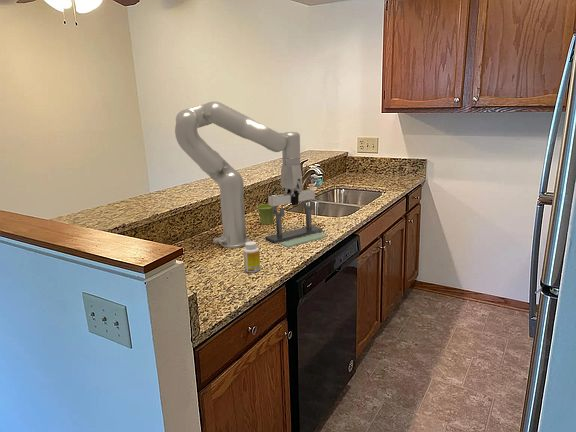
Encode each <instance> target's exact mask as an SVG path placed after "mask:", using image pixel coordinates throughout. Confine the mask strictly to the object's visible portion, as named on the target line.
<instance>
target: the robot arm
mask: <svg viewBox="0 0 576 432" xmlns="http://www.w3.org/2000/svg"><path fill="white" fill-rule="evenodd" d="M212 124H213V125H216V126H217V127H219V128H221V129H224V130H225V131H228V132H230V133H232V134H234V135H236V136H238V137H240V138H242V139H246V140H248V141H251V142H252V143H253V142H254V143H256V144H258V145H260V146H262V147H264V148H266V150H269V151H271V152H274V153H280V152H281V154H282V164H281V167H280V186H281V187H282V189H283V190H284V194H286V193H292V195H293V196H292V203H291V206H293V207H294V206H297V205H300V204H299V203H300V202H299V199H298V196H299V194H300V192H302V191H304V190H303V188H302V187H303V173H302V167H301V135H300V133H299V132H297V131H286V132H278V131H276V130H273V129H272V128H270V127H268V126H266V125H264V124H262V123H260V122H258V121H256V120H255V119H254V118H251V117H249V116H247V115H245V114H243V113H241V112H239V111H237V110H235V108H234V109H233V108H232V107H229V106H228V105H225V104H224V103H222V102H219V101H217V100H216V101H215V100H214V101H210V102H207V103H203V104H200V105H197V106H192V107H190V108H186V109H181V110H180V111H179V112H178V113H177V114H176V117H175V127H174V128H175V129H174V133H175V139H176V141H177V144H178V145H179V147H180V148H181V149H182V151H184V152H185V154H186V155H187V156H188V157H189V158H190V159H191V160H192V161H193V162H195V164H197V165H198V167H199V169H201V171H203V172H204V173H205V174H206V175H207V176H209V177H210V178H211V179H212V180H213V182H215V183H216V185H218V186H219V191H220V192H219V194H220V211H221V212H220V213H221V222H222V232H223V233H221V234H220V236H219V237H215V238H213V239H212V242H213V244H216V243H219V244H220V246H221V247H224V248H228V249H237V248H243V247H245V243H246V242H250V241H251V239H250V238H249V237H247V231H246V230H247V229H246V217H245V216H246V214H245V199H244V197H245V196H244V192H245V191H244V189H245V188H244V180H243V177H242V175H241V173H240V172H238V171H237V169H235V168H234V167H233V166H231V165H230V164H229V163H228V162H227V160H226V159H224V158H223V157H222V156H221V154H220V153H219V152H217V151H216V150H215V149H213V148H212V147H211V146H210V145H209V144H208V143H207V142H206V141H205V140H204V139H203V138H202V137H201V136H200V134H199V133H198V129H199V128H204V127H205V126H209V125H212Z"/></svg>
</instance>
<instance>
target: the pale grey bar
mask: <svg viewBox="0 0 576 432" xmlns="http://www.w3.org/2000/svg"><path fill="white" fill-rule="evenodd" d="M315 192H316V191H315V190H314V189H306V190H303V191H302V192H300V194H299V196H298V199H299V203H300V202H302V201H305V200H306V201H310V200H315V199H316V193H315ZM292 196H293V195H292V193H286V194H285V193H280V194H276V195H275V194H274V195H268V197H267V198H268V203H267V204H268V205H271V206H277V207H278V206H282V205H288V204H292Z"/></svg>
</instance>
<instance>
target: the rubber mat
mask: <svg viewBox="0 0 576 432" xmlns="http://www.w3.org/2000/svg"><path fill="white" fill-rule="evenodd" d="M321 238H322V239H325V238H328V235H327V234H325V233H322V232H319V233H315V234H311V235H308V236H304V237H300V238H296V239H292V240H288V241H285V242H281V243H279V245H281V246H283V247H285V248H292V247H295V246H299V245H303V244H307V243H310V241H311V242H313V241H317V240H321Z"/></svg>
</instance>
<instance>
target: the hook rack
mask: <svg viewBox="0 0 576 432" xmlns="http://www.w3.org/2000/svg"><path fill="white" fill-rule="evenodd" d="M301 203H302V205H301V206H302V208H303V209H305V226H303V227H300V228H296V229H292V230H289V231H284V232H283V227H282V226H283V223H282V217H285V208H284V207H279V211H278V209H277V207H278V206H272V209H273V214H274V216H275V226H276V234H272V235H268V236H265V237H264V238H265V241H267V242H268V243H271V244H274V245H276V244H280V243H282V242H286V241H290V240H294V239H298V238H302V237H305V236H309V235H313V234H317V233H323V228H322V227H319V226H317V225H314V224H312V211H314V210H315V201H313V200H312V201H310V202H309V205H307V200H305V201H301Z"/></svg>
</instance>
